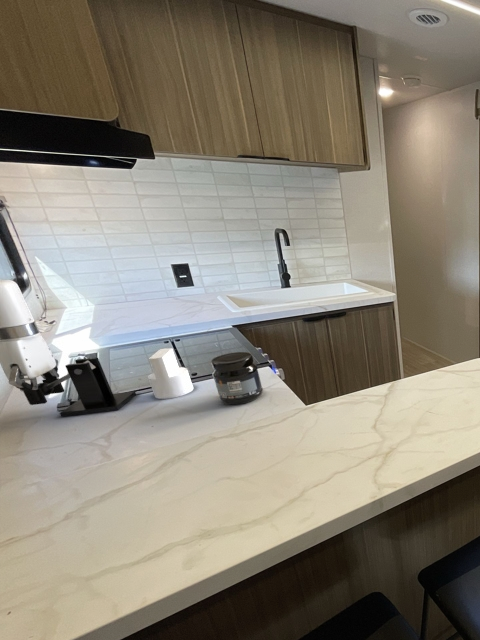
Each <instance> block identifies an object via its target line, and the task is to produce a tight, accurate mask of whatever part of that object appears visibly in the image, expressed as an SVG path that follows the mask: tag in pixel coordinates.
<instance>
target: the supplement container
mask: <svg viewBox="0 0 480 640" xmlns="http://www.w3.org/2000/svg"><path fill="white" fill-rule="evenodd" d="M210 364H211V366H212V369H213V370H212V372H211V376H212V377H213V380H214V383H215V386H216V390H217V394H218V397H219V398H218V399H219V400H220V401H221V402H222V403H223V404H226V405H231V406H232V405H241V404H246V403H249V402H253V401H255V400H257V399H258V398H260V397H261V396H262V395H263V392H264V388H263V386H262V385H263V384H262V382H261V378H260V373H259V370H258V365H257V364H256V363H255V362H254V357H253V354H252V353H250V352H247V351H237V352H230V353H225V354H221V355H218V356H216V357H214V358H212V359H211V360H210Z"/></svg>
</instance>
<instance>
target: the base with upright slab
mask: <svg viewBox="0 0 480 640" xmlns="http://www.w3.org/2000/svg"><path fill="white" fill-rule="evenodd" d="M148 361H149V364H150V366H151V369H152V373H150V374H149V375H147V379H148V382H149V384H150V387H151V390H152V392H153V395H154V397H155V398H156V399H159V400H166V399H174V398H178V397H181V396H185V395H187V394H189V393H191V392H192V391H193V390H194V385H193V382H192V379H191V377H190V373H189V370H188V368H187V367H182V366H181V367H180V366H179V364H178V361H177V357H176V355H175V352H174V348H173V347H169V348H160V349H159V350H157V351H156V352H155V353H153V354H152V355H151V356H150V357H148Z"/></svg>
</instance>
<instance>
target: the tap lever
mask: <svg viewBox="0 0 480 640" xmlns="http://www.w3.org/2000/svg"><path fill="white" fill-rule="evenodd" d="M88 362H89V364H90V366H91V369H92V370H93V369H94V368H96V367H95V366H94V365H93V364H92V363H91V362H90V361H88V360H87V361H86V362H84V363H88ZM70 379H71V377H70V375H69V373H68V374H65V375H64V376H61V377H59V379H58V380H56V381H54V382H52V383H50V384H49V383H43V382H40V383H37V385H38V388H41V390H42V392H43V394H44V396H45V397H47V396H50V395H52V394H51V393H52V392H53V390H54V388H53V387H54V386H56V385H58V384H60V383H61V384H62V383H63V382H65V381H67V380H70Z"/></svg>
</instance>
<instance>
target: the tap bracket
mask: <svg viewBox="0 0 480 640" xmlns="http://www.w3.org/2000/svg"><path fill="white" fill-rule="evenodd" d="M87 360H88V361H90V362H91V363H92V364H93V365H94V366H95V367H96V368H94V369H93V370H92V369H91V366H90V364H89V362H88V363H84V362H86V361H87ZM74 362H75V363H68V364H66V365H65V368H66V371H67V373H68V374H69V375H70V377H71V378H70V379H71V381H72V384H73V386H74V388H75V391H76V393H77V395H78V398H79V399H78V400H76V401H75V402H73V403H72V404H71V405H69V406H68V407H66V408H64V409H63V410H62V411H60V412H59V415H60V417H61V418H65V417H73V416H74V417H75V416H81V415H89V414H98V413H105V412H106V413H107V412H115V411H119V410H120V409H122V408H123V407H124V406H125V405H126V404H128V403H129V402H130V401H131V400H132V399H133V398H135V397H136V396H137V393H136V391H135V390H133V391H125V392H117V393H114V392H113V390H112V388H111V386H110V384H109V381H108V379H107V376H106V374H105V371H104V369H103V367H102V364H101V362H100V359H99V357H98V356H97V357H86V358H77V359H75V360H74Z"/></svg>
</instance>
